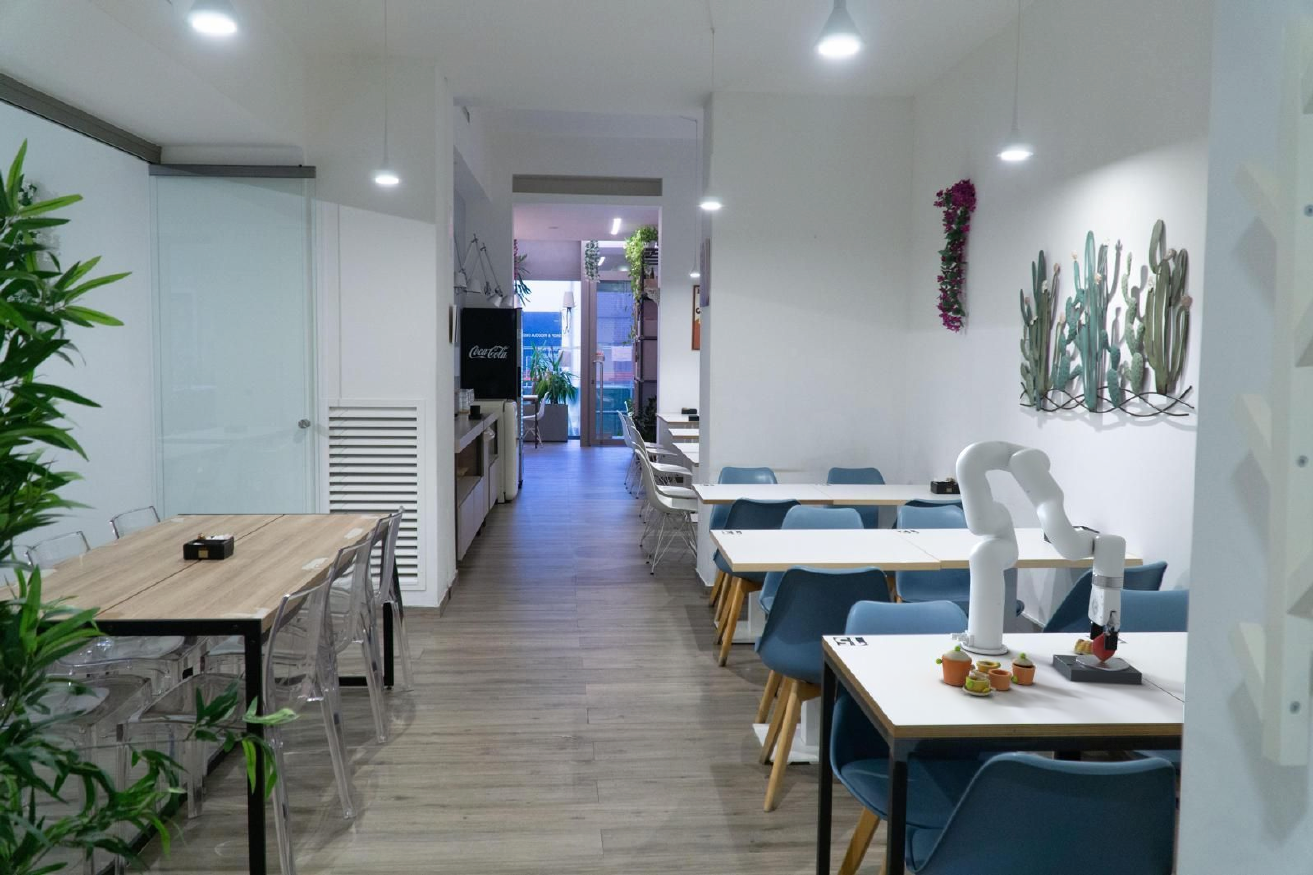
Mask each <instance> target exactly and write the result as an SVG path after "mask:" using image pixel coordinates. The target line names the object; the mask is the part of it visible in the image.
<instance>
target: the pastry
mask: <svg viewBox="0 0 1313 875" xmlns="http://www.w3.org/2000/svg"><path fill="white" fill-rule="evenodd" d="M1092 642H1093V641H1092V640H1090V639H1089V640H1088V639H1087V640H1085V639H1083V638H1078V639H1077V641H1076V642H1075V644H1074V647H1073V651H1074V652H1075V653H1076V654H1079V655H1094V653H1093V651H1092V648H1091V646H1092Z"/></svg>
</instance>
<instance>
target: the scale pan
mask: <svg viewBox="0 0 1313 875" xmlns="http://www.w3.org/2000/svg"><path fill="white" fill-rule="evenodd" d="M1076 656H1077V657H1076V662H1078V663H1079V664H1081V665H1083V666H1086V667H1090V668H1094V669H1099V670H1106V671H1124V670H1127V669H1129V664H1130V663H1129V662H1127V661H1126V660H1124V659H1123V660H1124V661H1123V660H1120V659H1117V658H1118V657H1114V656H1112V657H1111V658H1109V659H1108V660H1106V661H1104V662H1102V661H1100V660H1099V659H1098V658H1097V657H1096V656H1095V655H1084V654H1079V655H1076ZM1113 657H1114V658H1113Z"/></svg>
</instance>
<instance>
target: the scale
mask: <svg viewBox="0 0 1313 875" xmlns="http://www.w3.org/2000/svg"><path fill="white" fill-rule="evenodd" d="M1077 656H1078V655H1073V654H1053V655H1052V666H1053V667H1054V668H1055V669H1056V670H1057V671H1059V672H1060V673H1061V674H1062V675H1063V676H1064V677H1066V679H1068V680H1069V681H1070V682H1082V683H1083V682H1087V683H1106V684H1124V685H1125V684H1126V685H1142V682H1143V681H1142V680H1143V673H1142V671H1140V670H1138V669H1137V668H1135V667H1134V666H1133V665H1131V664H1130V663H1128V664H1129V669H1127V670H1124V671H1106V670H1099V669H1094V668H1090V667H1086V666H1083V665H1081V664H1079V663H1078V662H1076V657H1077ZM1112 657H1113V658H1115V657H1114V656H1112ZM1116 658H1117V659H1120V660H1123V661H1125V660H1124V659H1123V658H1121V657H1116Z"/></svg>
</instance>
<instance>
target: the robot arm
mask: <svg viewBox="0 0 1313 875" xmlns="http://www.w3.org/2000/svg"><path fill="white" fill-rule="evenodd" d="M996 470H998V471H1004V472H1008V473H1010V474H1011V475H1012V477H1013V478H1014V479H1015V481H1016V482H1017V484H1018V485H1019V487H1020V488H1021V489H1022V491H1023V492H1024V494H1025V495H1026V497H1027V498H1028V500H1029V501H1030V503H1031V504H1032V506H1033V508H1034V509H1035V512H1036V515H1037V518H1038V521H1039V524H1040V526H1041V529H1042V531H1043V532H1044V534H1045V536H1046V538H1047V539H1048V540H1049V542H1050V543H1051V545H1052V546H1053V548H1054V549H1055V551H1056V552H1057V553H1058V554H1059V555H1060V556H1061V557H1062V558H1064V560H1067V561H1071V562H1077V561H1081V560H1084V559H1089V558H1093V560H1092V561H1093V562H1092V577H1091V586H1092V587H1091V590H1090V596H1089V605H1088V613H1087V614H1088V618H1089V620H1090V621H1089V622H1090V628H1089V629H1090V631H1089V640H1090V641H1094V639H1095V638H1097V637H1098V636H1100V635H1102V634H1103V633H1104V629H1105V632H1106V634H1107V635H1105V639H1104V649H1105V650H1112V651H1115V652H1117V650H1118V645H1119V644H1118V643H1119V635H1120V631H1121V630H1120V627H1121V625H1122V623H1121V613H1122V612H1121V610H1122V596H1121V594H1122V593H1121V590H1123V589H1124V578H1125V576H1124V575H1125V564H1126V552H1127V551H1126V550H1127V541H1126V539H1125V538H1124V537H1123V536H1121V535H1115V534H1103V533H1099V532H1096V531H1093V530H1088V529H1079V530H1076V529H1075V527H1074V526H1073V524H1072V523H1071V521H1070V520H1069V517H1068V516H1067V513H1066V512H1065V509H1064V508H1065V507H1064V501H1065V494H1064V491H1063V489H1062V488H1061V487H1060V485H1059V484H1058V483H1057V481H1056V480H1055V479H1054V477H1053V476H1052V474H1051V473H1050V470H1051V460H1050V457H1049V456H1048V455H1047V453H1045V452H1044V450H1042V449H1038V448H1034V447H1030V446H1024V445H1021V444H1016V443H1012V442H1008V441H1004V440H984V441H983V440H982V441H978V442H974V443H972V444H970V445H969V446H967V447H965V448H964V449H963V450H962V452H961V453H960V454H959V455H958V458H957V460H956V463H955V476H956V481H957V484H958V489H959V492H960V498H961V503H962V509H963V514H964V518H965V523H966V526H967V529H968V530H969V532H970V533H971V534H973V535H974V536H977V537H983V540H982V541H980V542H978V543H977V544H975V545H974V546H973V547H972V549H971V550H970V553H969V557H968V564H969V573H970V586H969V588H970V589H969V606H968V608H969V610H968V625H967V629H964V632H961V633H957V632H950V640H951V641H957V642H961V648H963V649H964V650H966V651H968V652H972V653H976V654H981V655H993V656H994V655H996V656H997V655H1004V654H1006V653H1007V652H1008V646H1007V645H1006V644H1004V643H1003V634H1004V621H1005V620H1004V619H1005V618H1004V617H1005V601H1006V581H1005V575H1004V573H1005V572H1004V571H1007V570H1009V569H1011V568H1013V567H1014V566H1015V565H1016V564H1017V562H1018V560H1019V555H1020V554H1019V552H1020V551H1019V545H1018V541H1017V536H1016V531H1015V526H1014V522H1013V517H1012V514H1011V512H1010V511H1009V509H1008V507H1006V505H1005V504H1004V503H1002V502H1000V501H997V500H994V498H993V494H992V488H991V485H990V482H989V480H988V478H987V476H986V473H987V472H989V471H996Z"/></svg>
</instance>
